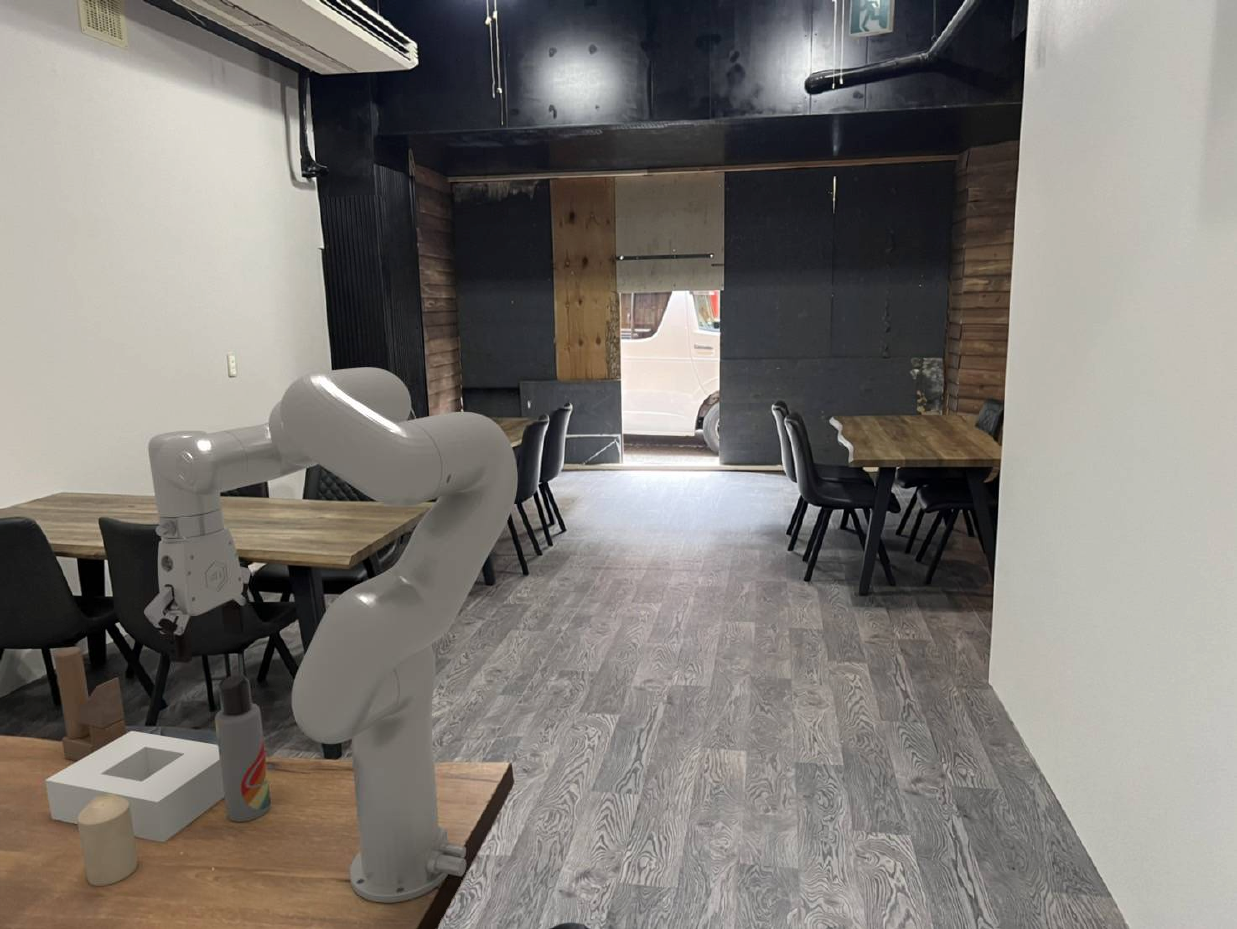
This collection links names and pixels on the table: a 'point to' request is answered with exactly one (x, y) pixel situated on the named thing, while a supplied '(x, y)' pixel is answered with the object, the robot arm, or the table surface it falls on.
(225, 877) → the table surface
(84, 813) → the candle
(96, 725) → the brown block with handle
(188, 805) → the bottle caddy
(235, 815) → the lotion bottle
